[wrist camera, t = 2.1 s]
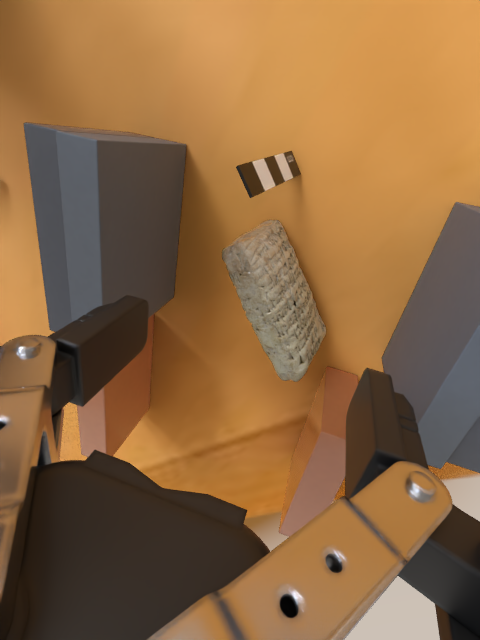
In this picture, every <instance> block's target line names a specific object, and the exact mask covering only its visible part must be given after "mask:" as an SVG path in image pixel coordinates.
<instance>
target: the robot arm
mask: <svg viewBox="0 0 480 640" xmlns="http://www.w3.org/2000/svg"><path fill="white" fill-rule="evenodd" d="M148 317H149V304H148V301H146V300H144V299H140V298H137V297H134V296H130V295H126V296H124V297H122V298H121V299H119V300H117V301H116V302H114V303H113V304H112V303H110V304H106V305H102V306H99V307H96V308H95V309H93V310H91V311H90V312H88V313H86V315H83V316H81V317H80V318H78V320H75V321H73V322H71V323H70V324H68V325H66V326H65V327H63V328H61V329H60V330H58V331H56V332H55V333H53V334H52V335H50V336H48V337H46V336H41V335H27V336H22V337H18V338H15V339H12V340H10V341H8V342H6V343H5V344H4V345H3V346H0V640H344V639H345V638H346V637H347V636H348V634H349V633H350V632H351V631H352V630H353V628H354V627H355V626H356V625H357V624H358V622H359V621H360V620H361V619H362V618H363V616H364V615H365V614H366V613H367V612H368V610H369V609H370V608H371V607H372V606H373V605H374V603H375V602H376V601H377V600H378V599H379V597H380V596H381V595H382V594H383V593H384V591H385V590H386V589H387V588H388V587H389V585H390V584H391V583H392V582H393V581H394V579H395V578H396V577H397V576H399V577H401V578H402V579H403V580H405V581H406V582H407V583H409V584H410V585H411V586H412V587H414V588H415V589H417V590H418V591H419V592H420V593H422V594H423V595H424V596H426V597H427V598H428V599H430V600H431V601H432V602H434V603H435V607H436V614H437V621H438V628H439V635H440V640H480V522H479V521H478V520H476V519H474V518H473V517H471V516H469V515H468V514H466V513H465V512H463V511H461V510H460V509H459V508H457V507H456V506H454V505H453V504H452V499H451V496H450V493H449V491H448V490H447V488H446V486H445V485H444V484H443V482H442V481H441V480H440V479H439V478H438V477H437V476H436V475H435V474H433V473H432V472H431V471H429V468H428V464H427V461H426V457H425V453H424V449H423V445H422V441H421V437H420V433H418V431H419V429H418V425H417V423H416V418H415V414H414V410H413V407H412V406H411V404H410V403H409V402H408V400H407V399H406V398H405V396H404V395H403V394H399V393H396V392H394V388H393V383H392V378H391V375H389V374H386V373H383V372H379V371H376V370H373V369H369V368H366V369H365V371H364V373H363V375H362V377H361V379H360V381H359V384H358V386H357V388H356V390H355V393H354V395H353V397H352V399H351V402H350V404H349V407H348V411H347V415H346V461H345V496H343V497H341V498H339V499H338V500H336V501H335V502H334V503H332V504H331V505H330V506H329V507H327V508H326V509H325V510H323V511H322V512H321V513H320V514H318V515H317V516H316V517H314V518H313V519H312V520H311V521H309V522H308V523H307V524H305V525H304V526H303V527H302V528H300V529H299V530H298V531H296V532H295V533H294V534H293V535H291V536H290V537H289V538H287V539H286V540H285V541H284V542H282V543H281V544H280V545H279V546H277V547H276V548H275V549H273V550H272V551H271V552H270V550H269V549H268V547H267V546H266V545H265V544H264V543H263V541H262V540H261V539H260V538H259V537H258V536H257V535H256V534H255V533H254V532H253V531H252V530H251V529H249V528H248V527H247V526H246V525H244V524H243V523H244V520H245V516H246V513H247V510H246V509H243V508H241V507H238V506H236V505H233V504H231V503H228V502H226V501H223V500H221V499H218V498H216V497H213V496H210V495H208V494H202V493H194V492H187V491H179V490H171V489H165V488H162V487H160V486H159V485H157V484H156V483H155V482H153V481H152V480H151V479H150V478H148V477H147V476H146V475H144V474H143V473H142V472H140V471H139V470H138V469H137V468H135V467H134V466H133V465H131V464H130V463H128V462H125V461H123V460H120V459H118V458H115V457H113V456H110V455H108V454H105V453H103V452H100V451H98V450H94V451H93V452H92V453H91V454H90V456H89V457H88V458H87V459H86V460H85V461H82V460H70V461H60V462H59V459H60V448H61V437H62V427H63V416H64V410H63V407H64V406H65V405H66V404H67V403H68V402H71V403H73V404H76V405H79V406H81V407H83V406H84V405H85V404H86V403H88V402H89V401H90V400H91V399H92V398H93V397H94V396H95V395H96V394H97V393H98V392H99V391H100V390H101V389H102V388H103V387H104V386H105V385H106V384H108V383H109V382H110V381H111V380H112V379H113V378H114V377H115V376H116V375H117V374H118V373H119V372H120V371H121V370H122V369H123V368H124V367H125V366H127V365H128V364H129V363H130V362H131V361H132V360H133V359H134V358H135V357H136V356H137V355H138V354H139V353H140V352H141V351H142V350H143V348H144V347H145V344H146V342H147V337H148Z"/></svg>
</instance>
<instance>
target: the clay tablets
mask: <svg viewBox="0 0 480 640" xmlns="http://www.w3.org/2000/svg"><path fill="white" fill-rule="evenodd" d="M153 330H154V314H153V315H152V316H151V317H149V318H148V337H147V342H146V344H145V347H144V348H143V350H142V351H141V352H140V353H139V354H138V355H137V356H136V357H135V358H134V359H133V360H132V361H131V362H130V363H129V364H128V365H127V366H125V367H124V368H123V369H122V370H121V371H120V372H119V373H118V374H117V375H116V376H115V377H114V378H113V379H112V380H111V381H110V382H109V383H108V384H106V385H105V386H104V387H103V388H102V389H101V390H100V391H99V392H98V393H97V394H96V395H95V396H94V397H93V398H92V399H91V400H90V401H89V402H88V403H86V404H85V405H84V406H83V407H81V406H79V405H77V411H78V421H79V432H80V443H81V454H82V455H84V456H87V457H89V456H90V454H91V453H92V452H93V451H94V450H98V451H100V452H103V453H105V454H108V455H110V456H113V455H114V454H115V452H116V451H117V450H118V449H119V447H120V446H121V445H122V443H123V442H124V441H125V439H126V438H127V437H128V435H129V434H130V433H131V432H132V430H133V429H134V428H135V426H136V425H137V424H138V422H139V421H140V420H141V418H142V417H143V416H144V415H145V413H146V412H147V411H148V409H149V405H150V386H151V368H152V349H153ZM357 386H358V376H357V375H354V374H351V373H348V372H344V371H341V370H338V369H335V368H331V367H328V366H327V367H326V369H325V372H324V374H323V377H322V380H321V382H320V385H319V388H318V390H317V393H316V395H315V398H314V401H313V403H312V406H311V409H310V411H309V414H308V416H307V419H306V422H305V424H304V427H303V430H302V432H301V435H300V438H299V440H298V443H297V445H296V448H295V451H294V453H293V456H292V459H291V464H290V470H289V475H288V481H287V487H286V493H285V498H284V504H283V510H282V516H281V522H280V527H279V533H281V534H284V535H286V536H289V537H290V536H291V535H293V534H294V533H295V532H296V531H298V530H299V529H300V528H302V527H303V526H304V525H305V524H307V523H308V522H309V521H311V520H312V519H313V518H314V517H316V516H317V515H318V514H320V513H321V512H322V511H323V510H325V509H326V508H327V507H329V506H330V505H331V503H332V501H333V499H334V497H335V495H336V493H337V491H338V489H339V487H340V486H341V484H342V482H343V480H344V478H345V461H346V415H347V411H348V407H349V404H350V402H351V399H352V397H353V395H354V393H355V390H356V388H357Z"/></svg>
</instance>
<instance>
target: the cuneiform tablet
mask: <svg viewBox="0 0 480 640" xmlns="http://www.w3.org/2000/svg"><path fill="white" fill-rule="evenodd" d="M236 168H237V170H238V172H239V175H240V177H241V179H242V181H243V183H244V186H245V188H246V190H247V192H248V194H249V197H250V198H252V197H254V196H256V195H258V194H260V193H262V192H264V191H266V190H268V189H271V188H273V187H275V186H277V185H279V184H281V183H283V182H285V181H288V180H290V179H292V178H294V177H296V176H298V175H300V174H301V173H300V171H299V168H298V166H297V163H296V161H295V158H294V156H293V153H292V151H289V152H285V153H282V154H278V155H274V156H271V157H267V158H264V159H260V160H256V161H253V162H249V163H245V164H242V165H238V166H237V167H236ZM222 259H223V261H224V262H225V263H226V267H227V270H228V271H229V276H230V278H231V280H232V282H233V285H234V286H235V287H236V292H237V294H238V297H239V298H240V300H241V303H242V307H243V309H244V311H245V312H246V316H247V319H248V320H249V321H250V322H251V323H252V327H253V329H254V331H255V334H256V335H257V337H258V339H259V341H260V343H261V345H262V347H263V349H264V351H265V353H266V354H267V355H268V357H269V359H270V360H271V362H272V364H273V366H274V369H275V371H276V373H277V375H278V376H279V377H280V379H281V380H284V381H287V380H293V381H295V382H297V381H299V380H300V379H301V378H302V377H303V376H304V374H305V373H306V372H307V370H308V366H309V365H310V363H311V361H312V359H313V357H314V355H315V354H316V352H317V351H318V349H319V347H320V344H321V342H322V340H323V339H324V337H325V335H326V327H325V325H324V323H323V321H322V319H321V317H320V315H319V313H318V310H317V308H316V302H315V300H314V299H313V294H312V292H311V290H310V288H309V284H308V283H307V281H306V279H305V277H304V275H303V271H302V270H301V268H300V267H299V260H298V258H297V257H296V256H295V252H294V249H293V247H292V246H291V245H290V243H289V239H288V236H287V234H286V232H285V230H284V227H283V226H282V224H281V223H280V221H278V220H268V221H265V222H263V223H261V224H260V225H258V226H257V227H255V228H253V229H252V230H250V231H248V232H246V233H244V234H242V235H241V236H239V237H238V238H236V239H235V240H234V241H233V242H232V243H231V244H230V245H229V246H228V247H226V248H224V249H223V250H222Z"/></svg>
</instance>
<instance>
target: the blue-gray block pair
mask: <svg viewBox="0 0 480 640" xmlns="http://www.w3.org/2000/svg"><path fill="white" fill-rule="evenodd" d="M24 131H25V139H26V147H27V154H28V162H29V170H30V178H31V186H32V194H33V202H34V209H35V217H36V225H37V233H38V241H39V249H40V257H41V264H42V272H43V280H44V288H45V296H46V304H47V312H48V319H49V327H50V330H51V331H54V332H56V331H58V330H60V329H61V328H63V327H65V326H66V325H68V324H70V323H71V322H73V321H75V320H78V318H80V317H81V316H83V315H86V313H88V312H90V311H91V310H93V309H95V308H96V307H99V306H102V305H106V304H110V303H112V304H113V303H114V302H116V301H117V300H119V299H121V298H122V297H124V296H126V295H130V296H134V297H137V298H140V299H144V300H146V301H148V304H149V317H151V316H152V315H153V314H154V313H155V312H157V311H158V310H159V309H160V308H161V307H162V306H164V305H165V304H166V303H167V302H168V301H170V300H171V299H172V298H173V297H174V288H175V277H176V265H177V253H178V241H179V229H180V217H181V205H182V193H183V182H184V170H185V158H186V144H182V143H177V142H173V141H168V140H163V139H157V138H154V137H149V136H144V135H140V134H135V133H130V132H121V131H111V130H100V129H90V128H79V127H69V126H58V125H48V124H37V123H27V122H26V123H24ZM149 317H148V318H149ZM382 363H383V368H384V373H386V374H389V375H391V378H392V383H393V388H394V392H396V393H399V394H403V395H404V396H405V398H406V399H407V400H408V402H409V403H410V404H411V406H412V407H413V410H414V414H415V418H416V423H417V425H418V429H419V431H418V433H420V437H421V441H422V445H423V449H424V453H425V457H426V461H427V464H428V465H430V466H433V467H436V468H439V469H441V468H442V467H443V465H444V464H445V463H446V462H448V463H451V464H454V465H457V466H460V467H463V468H466V469H469V470H472V471H475V472H478V473H480V207H477V206H473V205H468V204H463V203H459V202H456V203H455V205H454V207H453V209H452V211H451V213H450V215H449V217H448V219H447V221H446V223H445V226H444V228H443V230H442V232H441V234H440V236H439V238H438V240H437V242H436V245H435V247H434V249H433V251H432V253H431V255H430V257H429V259H428V261H427V264H426V266H425V268H424V270H423V272H422V274H421V276H420V278H419V280H418V282H417V285H416V287H415V289H414V291H413V293H412V295H411V297H410V299H409V301H408V304H407V306H406V308H405V310H404V312H403V314H402V316H401V318H400V320H399V322H398V325H397V327H396V329H395V331H394V333H393V335H392V337H391V339H390V341H389V344H388V346H387V348H386V350H385V352H384V354H383V356H382Z"/></svg>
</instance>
